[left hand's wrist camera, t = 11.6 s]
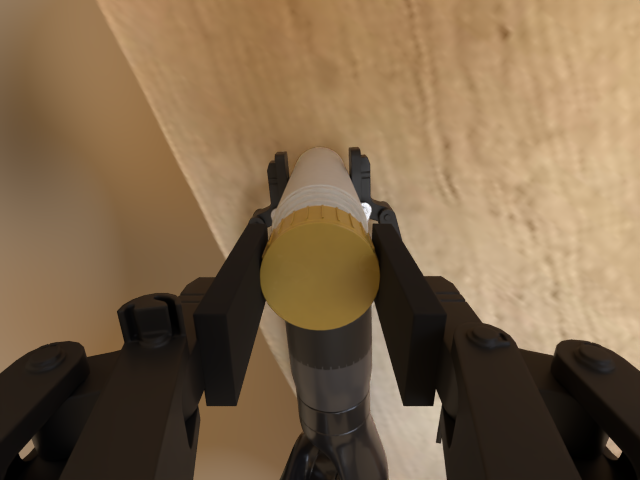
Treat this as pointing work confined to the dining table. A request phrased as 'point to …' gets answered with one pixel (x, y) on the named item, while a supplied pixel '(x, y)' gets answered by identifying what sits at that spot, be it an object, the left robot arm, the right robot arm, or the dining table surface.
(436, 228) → the dining table surface
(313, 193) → the bottle
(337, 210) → the cap
